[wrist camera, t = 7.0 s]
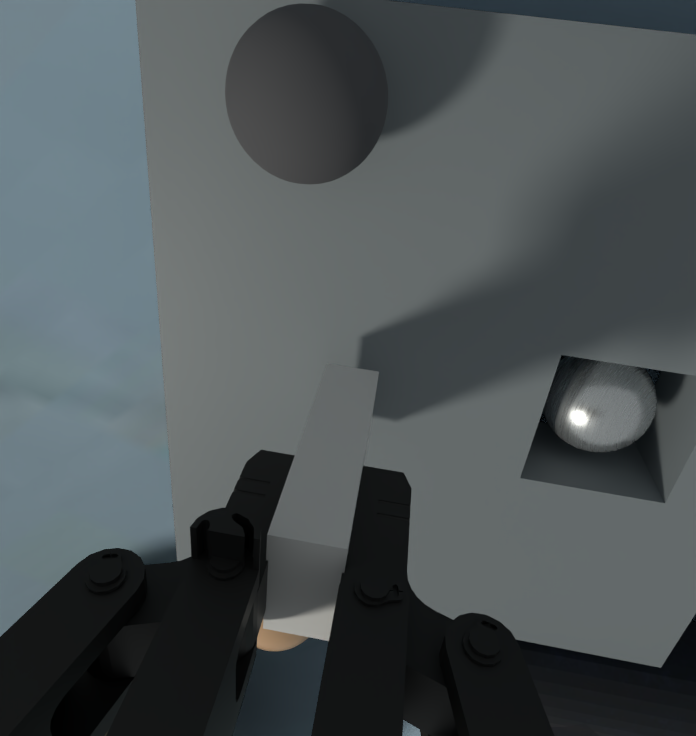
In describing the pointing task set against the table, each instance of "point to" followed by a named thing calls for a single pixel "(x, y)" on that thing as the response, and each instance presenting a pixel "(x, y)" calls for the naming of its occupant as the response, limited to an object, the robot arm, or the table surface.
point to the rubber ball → (306, 93)
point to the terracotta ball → (277, 640)
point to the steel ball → (600, 404)
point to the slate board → (450, 300)
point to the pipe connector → (616, 691)
